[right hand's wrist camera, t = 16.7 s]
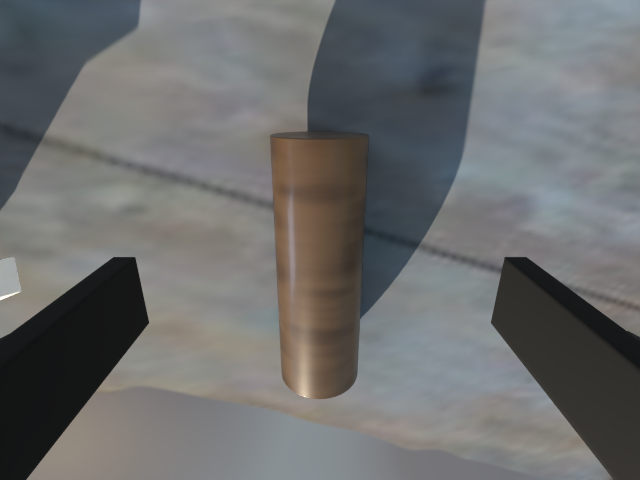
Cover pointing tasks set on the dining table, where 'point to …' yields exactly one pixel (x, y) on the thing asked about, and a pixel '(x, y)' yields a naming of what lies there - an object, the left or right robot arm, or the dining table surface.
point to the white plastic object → (8, 278)
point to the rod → (319, 256)
